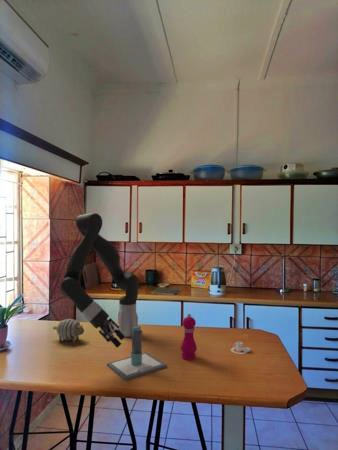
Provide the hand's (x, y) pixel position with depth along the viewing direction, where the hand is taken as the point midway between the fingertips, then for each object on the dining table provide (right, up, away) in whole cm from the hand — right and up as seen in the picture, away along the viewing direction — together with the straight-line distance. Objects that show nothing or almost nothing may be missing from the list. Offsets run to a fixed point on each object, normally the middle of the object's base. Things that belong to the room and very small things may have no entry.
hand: (121, 342), depth 136 cm
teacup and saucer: (+55, -11, +15) cm, 58 cm away
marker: (+6, -9, 0) cm, 11 cm away
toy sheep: (-32, -10, +29) cm, 44 cm away
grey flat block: (+6, -10, 0) cm, 12 cm away
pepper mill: (+29, -11, +9) cm, 33 cm away
